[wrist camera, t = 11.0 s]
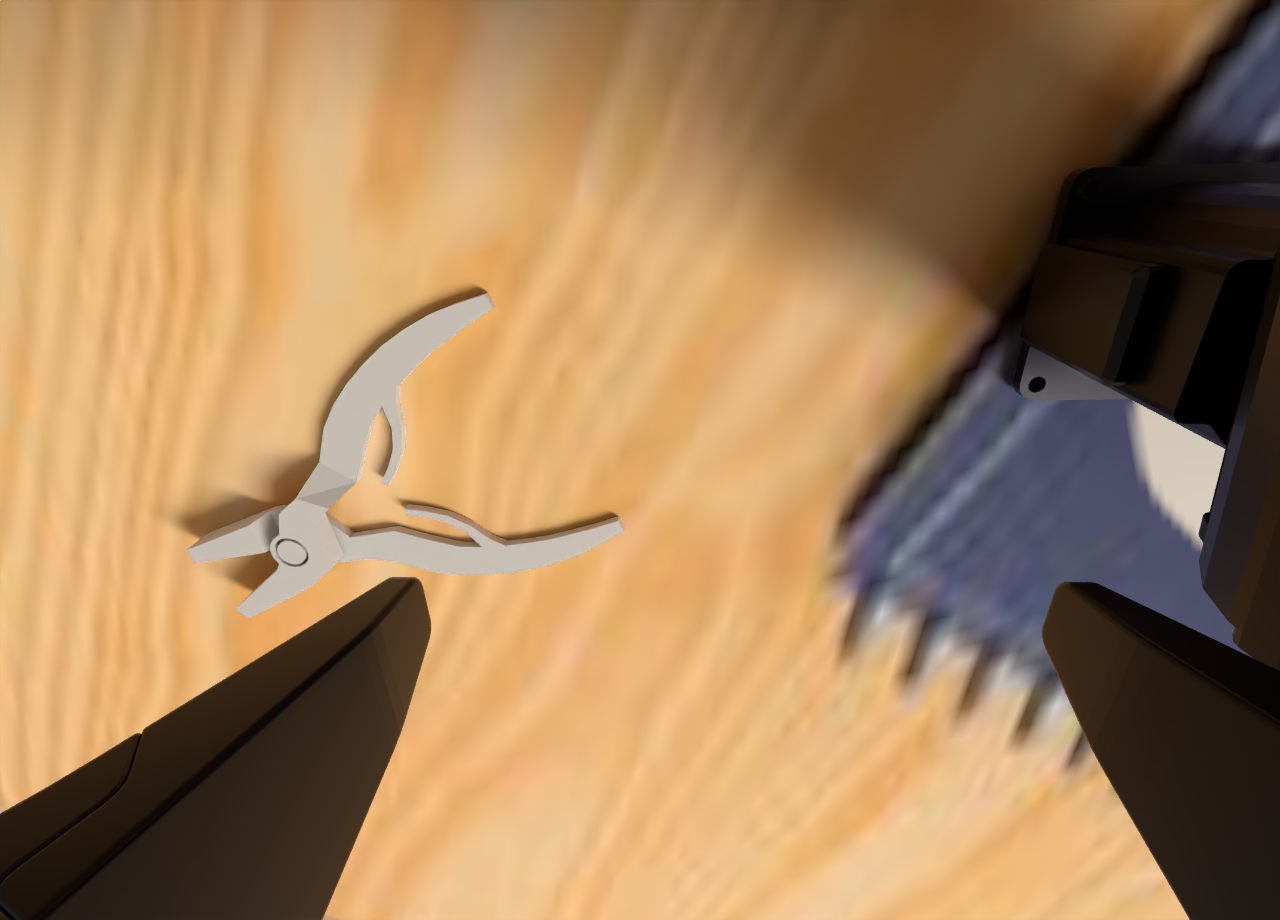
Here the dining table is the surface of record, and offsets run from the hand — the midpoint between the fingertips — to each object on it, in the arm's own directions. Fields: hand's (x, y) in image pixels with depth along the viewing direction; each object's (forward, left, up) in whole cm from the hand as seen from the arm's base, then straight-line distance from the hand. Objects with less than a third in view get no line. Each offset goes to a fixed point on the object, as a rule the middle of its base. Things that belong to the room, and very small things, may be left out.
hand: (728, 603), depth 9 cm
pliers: (+11, +5, -13) cm, 18 cm away
